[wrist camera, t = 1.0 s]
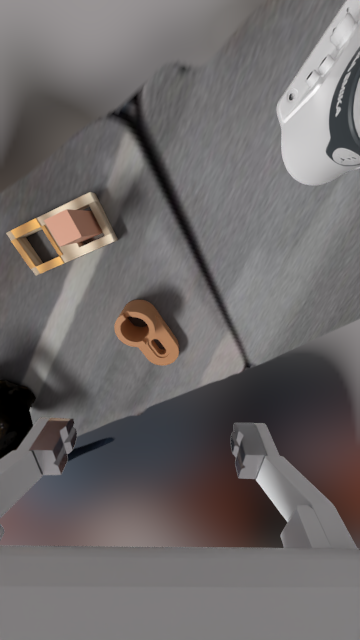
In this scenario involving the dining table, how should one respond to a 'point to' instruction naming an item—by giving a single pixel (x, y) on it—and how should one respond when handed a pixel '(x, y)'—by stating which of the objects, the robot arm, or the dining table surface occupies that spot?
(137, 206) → the dining table surface
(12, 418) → the pottery vessel
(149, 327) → the bracket
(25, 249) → the peg board
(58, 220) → the terracotta peg
